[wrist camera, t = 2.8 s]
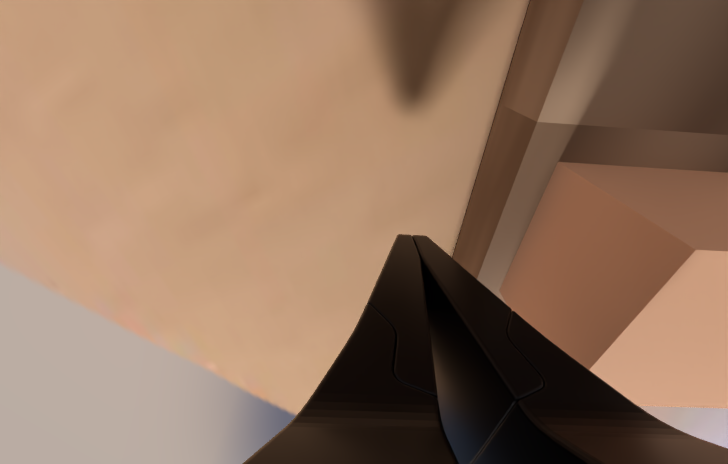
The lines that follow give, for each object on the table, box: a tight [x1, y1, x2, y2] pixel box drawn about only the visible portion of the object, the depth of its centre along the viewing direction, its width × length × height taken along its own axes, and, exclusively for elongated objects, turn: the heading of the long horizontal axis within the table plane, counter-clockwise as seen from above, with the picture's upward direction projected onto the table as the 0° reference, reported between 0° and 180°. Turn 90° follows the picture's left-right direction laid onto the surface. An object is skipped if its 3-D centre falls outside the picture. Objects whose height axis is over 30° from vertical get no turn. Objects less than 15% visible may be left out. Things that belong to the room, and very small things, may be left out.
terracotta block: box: [499, 162, 728, 408], centre depth 8 cm, size 5×5×4 cm
